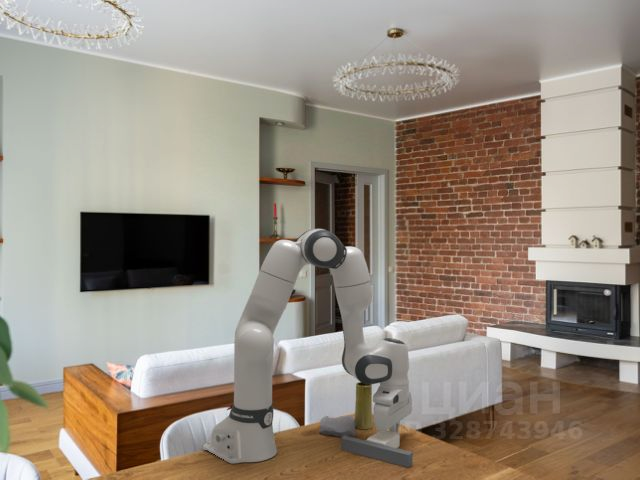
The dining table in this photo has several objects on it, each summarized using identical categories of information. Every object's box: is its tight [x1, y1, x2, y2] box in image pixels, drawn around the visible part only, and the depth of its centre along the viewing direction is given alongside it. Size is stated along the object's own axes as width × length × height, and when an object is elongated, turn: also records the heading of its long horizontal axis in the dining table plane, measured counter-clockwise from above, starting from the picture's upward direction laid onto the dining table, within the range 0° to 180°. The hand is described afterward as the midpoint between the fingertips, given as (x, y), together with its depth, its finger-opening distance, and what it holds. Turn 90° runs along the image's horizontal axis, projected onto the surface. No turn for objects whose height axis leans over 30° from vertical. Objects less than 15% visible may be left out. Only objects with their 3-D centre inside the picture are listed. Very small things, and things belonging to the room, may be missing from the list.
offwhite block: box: [365, 429, 401, 449], centre depth 164 cm, size 6×10×4 cm, turn 147°
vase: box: [354, 381, 373, 430], centre depth 183 cm, size 6×6×14 cm
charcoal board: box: [340, 436, 414, 469], centre depth 158 cm, size 22×2×4 cm, turn 57°
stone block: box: [319, 415, 357, 438], centre depth 179 cm, size 12×5×10 cm
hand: (394, 436), depth 169 cm, fingers closed
